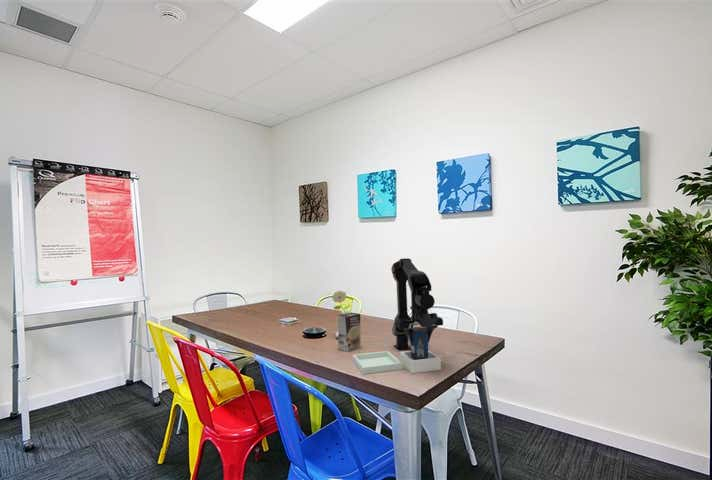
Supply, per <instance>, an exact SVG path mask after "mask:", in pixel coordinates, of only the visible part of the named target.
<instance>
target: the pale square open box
mask: <svg viewBox="0 0 712 480" xmlns="http://www.w3.org/2000/svg"><path fill="white" fill-rule="evenodd" d="M399 361H400V362H401V363H402V367H403V366H404V368H405V369H407V370H408V371H409V372H410V373H411V374H417V373H427V372H433V371H441V370H442V362H441V361H442V359H441V357H440V356H438V355H436V354H435V353H434V352H432V351H430V350H429V349H428V358H427V359H420V360H413V359H412V357H411V350H407V351H405V350H404V351H399Z"/></svg>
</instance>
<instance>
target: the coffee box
mask: <svg viewBox="0 0 712 480" xmlns="http://www.w3.org/2000/svg"><path fill="white" fill-rule="evenodd" d="M337 322H338V323H337V326H338V327H337V328H338V330H337V331H338V337H337V340H338V341H337V342H338V344H337V345H338V348H337V349H338V350H341V351H343V352H350V351H354V350H357V349H360V348H362V343H361V341H362V340H361V339H362V338H361V334H362V333H361V314H360V313H356V312H350V313H348V314H342V313H341V314H338V316H337Z"/></svg>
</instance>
